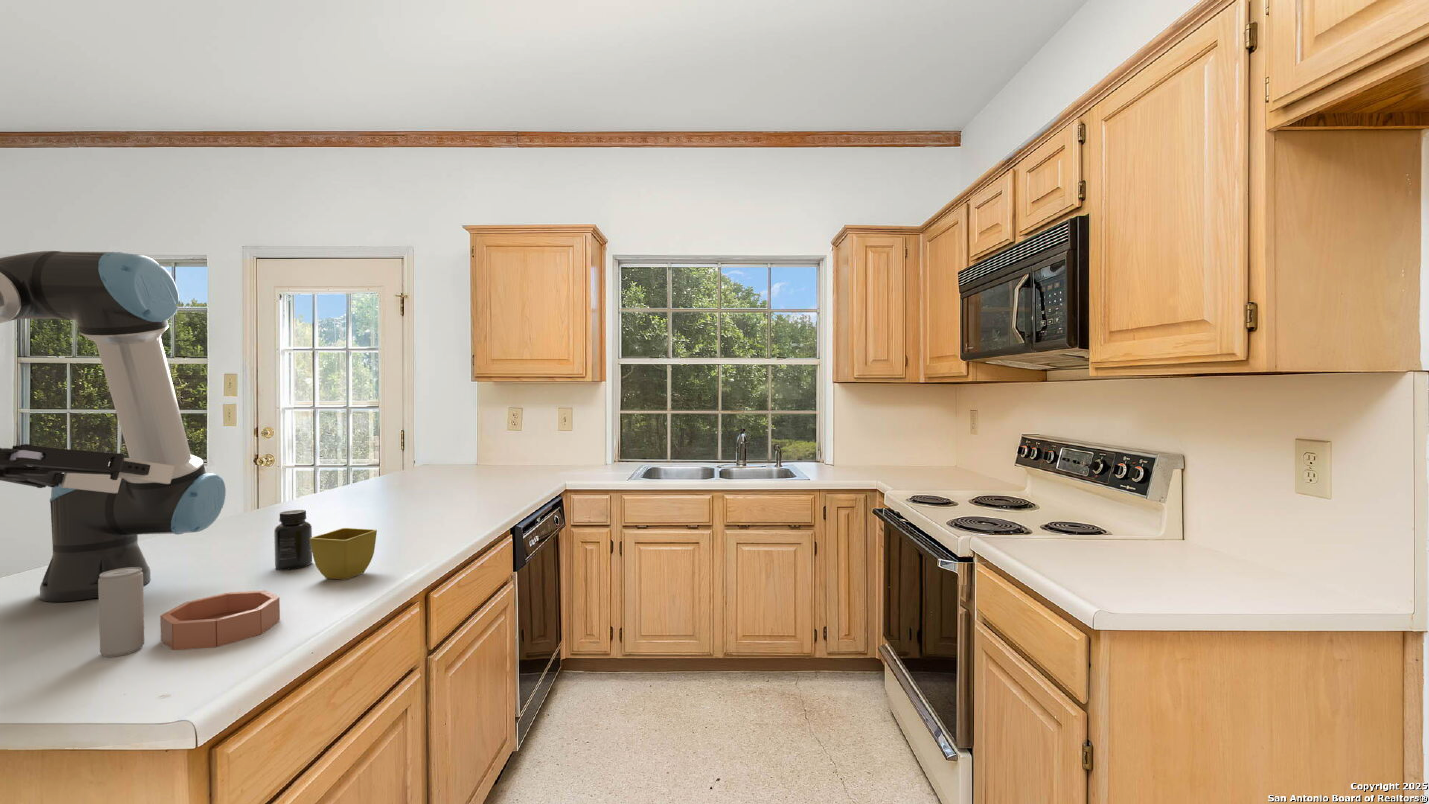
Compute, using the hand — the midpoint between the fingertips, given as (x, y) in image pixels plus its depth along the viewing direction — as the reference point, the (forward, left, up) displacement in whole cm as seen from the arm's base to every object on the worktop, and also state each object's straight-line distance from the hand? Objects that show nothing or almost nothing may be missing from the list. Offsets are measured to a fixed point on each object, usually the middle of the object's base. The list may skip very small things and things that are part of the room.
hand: (144, 480), depth 94 cm
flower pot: (+17, +29, -25) cm, 42 cm away
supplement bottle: (+3, +39, -25) cm, 47 cm away
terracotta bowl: (+9, +2, -25) cm, 27 cm away
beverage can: (-1, -4, -25) cm, 26 cm away
